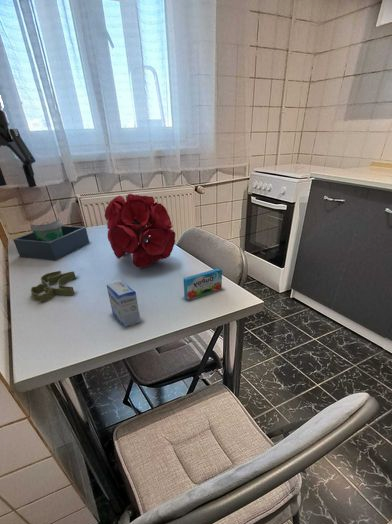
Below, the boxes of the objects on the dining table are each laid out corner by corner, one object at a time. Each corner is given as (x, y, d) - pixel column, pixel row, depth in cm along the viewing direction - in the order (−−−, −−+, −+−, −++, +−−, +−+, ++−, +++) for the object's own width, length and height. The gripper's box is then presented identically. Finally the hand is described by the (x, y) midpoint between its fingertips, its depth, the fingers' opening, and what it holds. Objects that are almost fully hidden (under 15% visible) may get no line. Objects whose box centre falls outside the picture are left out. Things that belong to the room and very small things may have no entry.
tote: (19, 256, 116) (12, 239, 112) (56, 240, 133) (52, 224, 129) (55, 260, 112) (49, 242, 108) (89, 242, 128) (85, 227, 124)
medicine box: (112, 314, 77) (105, 284, 72) (128, 309, 79) (122, 279, 74) (124, 327, 72) (118, 295, 67) (141, 321, 74) (135, 290, 69)
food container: (45, 253, 116) (36, 227, 110) (38, 250, 120) (29, 224, 114) (73, 245, 123) (66, 220, 117) (66, 242, 127) (59, 218, 121)
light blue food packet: (187, 300, 82) (186, 280, 78) (184, 298, 83) (183, 278, 79) (221, 289, 87) (222, 269, 83) (218, 287, 88) (218, 267, 84)
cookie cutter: (73, 297, 86) (71, 291, 85) (29, 304, 83) (27, 297, 82) (77, 274, 100) (75, 268, 98) (39, 279, 97) (37, 273, 96)
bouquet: (104, 281, 111) (132, 261, 85) (82, 217, 107) (105, 176, 81) (154, 270, 122) (192, 249, 96) (136, 212, 118) (171, 174, 92)
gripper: (32, 109, 92) (53, 185, 105) (-28, 111, 99) (-1, 183, 112) (13, 108, 87) (38, 189, 100) (-49, 110, 93) (-18, 186, 106)
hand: (17, 186), depth 106 cm, fingers open, 13 cm apart
